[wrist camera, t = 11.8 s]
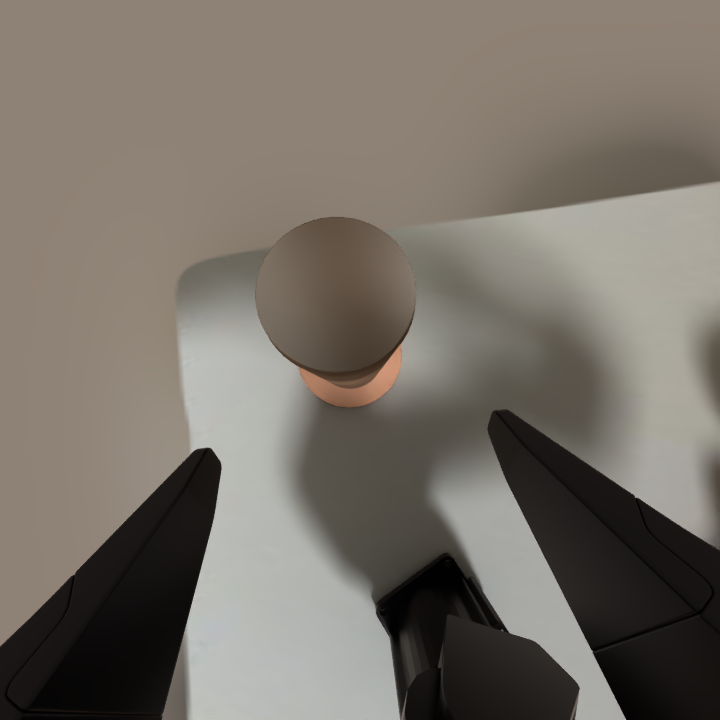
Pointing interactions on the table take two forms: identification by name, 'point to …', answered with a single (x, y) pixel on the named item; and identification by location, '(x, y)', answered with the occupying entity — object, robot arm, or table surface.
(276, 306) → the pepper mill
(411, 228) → the table surface
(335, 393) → the coaster
